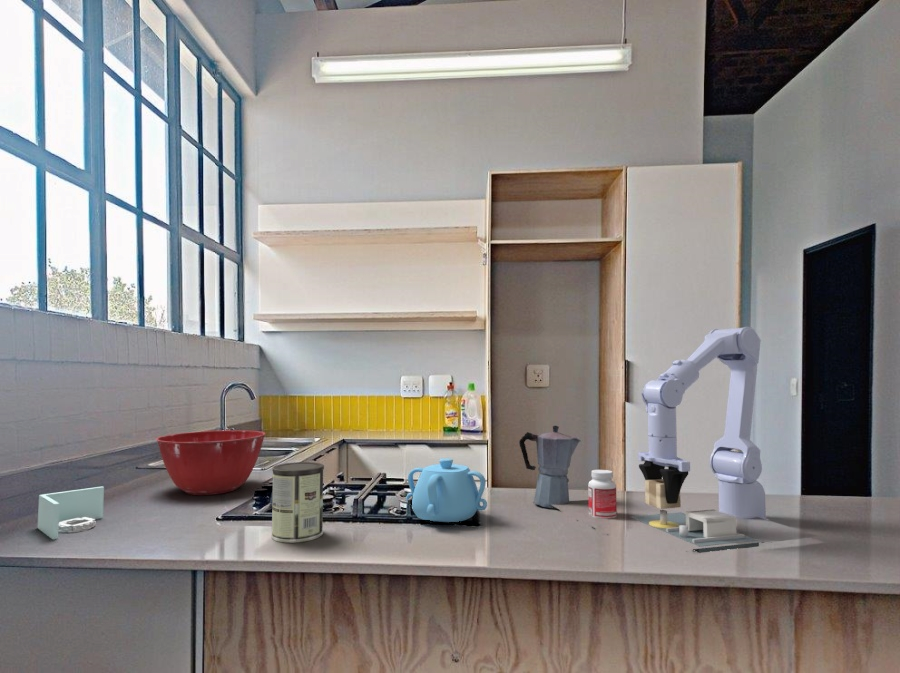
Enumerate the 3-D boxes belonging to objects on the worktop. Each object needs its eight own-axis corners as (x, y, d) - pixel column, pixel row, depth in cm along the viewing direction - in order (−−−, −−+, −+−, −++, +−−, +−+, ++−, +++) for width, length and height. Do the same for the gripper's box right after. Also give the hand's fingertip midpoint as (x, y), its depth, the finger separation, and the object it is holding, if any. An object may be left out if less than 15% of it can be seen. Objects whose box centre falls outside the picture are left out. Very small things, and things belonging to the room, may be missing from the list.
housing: (713, 526, 116) (713, 509, 117) (736, 535, 111) (735, 516, 111) (685, 529, 114) (685, 511, 115) (707, 538, 109) (706, 519, 109)
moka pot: (585, 510, 136) (584, 427, 137) (522, 509, 136) (521, 427, 137) (576, 501, 145) (576, 423, 147) (517, 500, 146) (517, 423, 147)
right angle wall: (52, 542, 111) (54, 504, 111) (37, 530, 119) (39, 494, 119) (119, 529, 120) (120, 494, 120) (101, 519, 128) (102, 486, 128)
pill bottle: (622, 521, 126) (621, 471, 127) (604, 525, 123) (603, 474, 123) (601, 515, 131) (600, 467, 132) (582, 519, 128) (582, 470, 128)
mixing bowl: (129, 499, 145) (131, 439, 146) (196, 478, 173) (198, 428, 174) (229, 504, 140) (231, 442, 141) (281, 481, 168) (282, 430, 169)
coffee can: (290, 526, 121) (292, 460, 122) (332, 531, 117) (333, 463, 118) (259, 539, 111) (261, 468, 112) (304, 545, 108) (305, 471, 109)
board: (681, 517, 130) (681, 499, 130) (758, 546, 108) (758, 524, 109) (629, 521, 125) (629, 503, 126) (699, 552, 104) (698, 529, 105)
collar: (664, 501, 122) (664, 478, 122) (680, 507, 117) (680, 483, 118) (645, 503, 121) (644, 480, 121) (660, 509, 116) (660, 484, 116)
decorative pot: (492, 525, 123) (492, 463, 123) (422, 531, 117) (423, 466, 118) (466, 508, 138) (466, 452, 139) (403, 513, 133) (403, 455, 133)
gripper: (626, 432, 126) (627, 493, 125) (668, 440, 112) (670, 509, 111) (652, 432, 128) (653, 492, 127) (698, 439, 114) (699, 507, 113)
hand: (663, 500), depth 119 cm, fingers closed on collar, 5 cm apart
